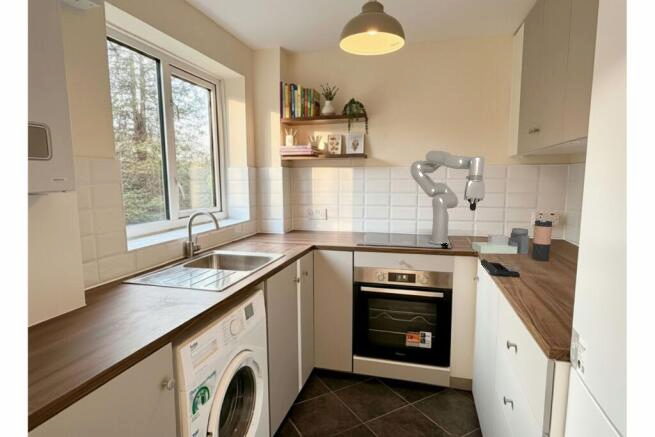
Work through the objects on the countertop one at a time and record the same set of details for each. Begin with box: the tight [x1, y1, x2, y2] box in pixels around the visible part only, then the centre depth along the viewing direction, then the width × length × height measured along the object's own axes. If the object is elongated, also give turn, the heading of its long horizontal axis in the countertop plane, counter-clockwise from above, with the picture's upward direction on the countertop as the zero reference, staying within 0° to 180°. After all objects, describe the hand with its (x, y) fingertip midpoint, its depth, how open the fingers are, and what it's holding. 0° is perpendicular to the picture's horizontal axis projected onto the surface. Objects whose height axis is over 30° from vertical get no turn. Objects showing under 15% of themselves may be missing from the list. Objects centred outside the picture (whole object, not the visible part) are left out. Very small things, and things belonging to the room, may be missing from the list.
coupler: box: [471, 227, 530, 255], centre depth 191 cm, size 12×28×13 cm, turn 89°
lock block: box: [487, 234, 510, 246], centre depth 191 cm, size 6×9×5 cm, turn 82°
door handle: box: [480, 258, 521, 278], centre depth 151 cm, size 3×20×16 cm
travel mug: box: [532, 219, 553, 262], centre depth 172 cm, size 8×8×20 cm
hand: (472, 210), depth 193 cm, fingers closed
